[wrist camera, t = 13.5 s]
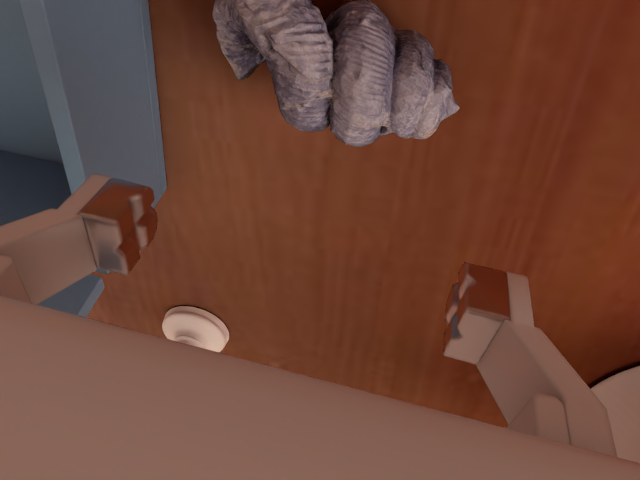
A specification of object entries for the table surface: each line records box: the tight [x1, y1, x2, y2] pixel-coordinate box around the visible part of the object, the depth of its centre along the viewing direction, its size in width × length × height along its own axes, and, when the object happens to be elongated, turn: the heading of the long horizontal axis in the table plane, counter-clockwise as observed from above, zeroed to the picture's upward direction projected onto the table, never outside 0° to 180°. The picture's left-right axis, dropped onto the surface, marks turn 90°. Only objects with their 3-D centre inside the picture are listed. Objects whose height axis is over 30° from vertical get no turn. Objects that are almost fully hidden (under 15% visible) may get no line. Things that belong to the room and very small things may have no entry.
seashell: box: [212, 0, 460, 147], centre depth 19 cm, size 5×5×10 cm
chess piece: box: [162, 306, 229, 352], centre depth 33 cm, size 5×5×10 cm
